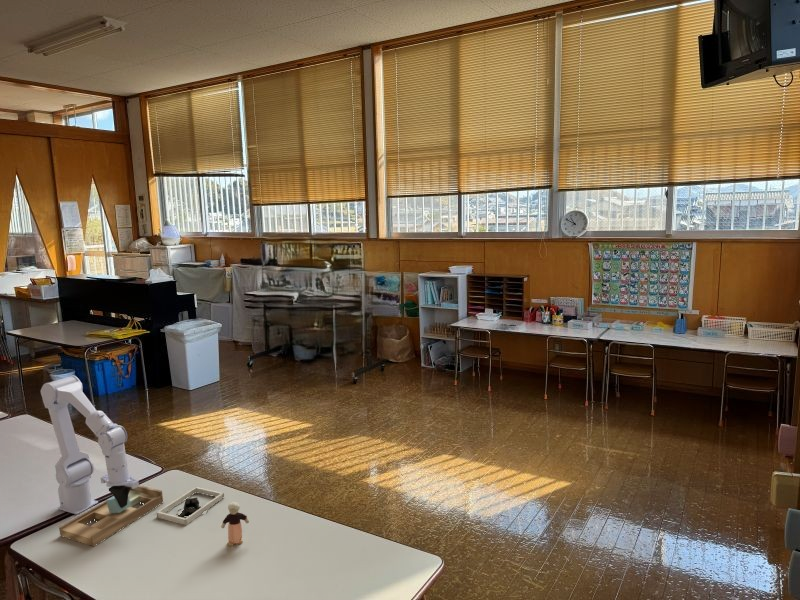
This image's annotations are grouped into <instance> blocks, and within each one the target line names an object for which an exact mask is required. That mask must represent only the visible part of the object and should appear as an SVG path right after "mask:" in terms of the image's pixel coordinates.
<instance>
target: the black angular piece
mask: <svg viewBox="0 0 800 600" xmlns="http://www.w3.org/2000/svg"><path fill="white" fill-rule="evenodd" d="M183 504H184V505H183V509H184V510H183V511H182V513H181V514H180V515H178V517H182V518H183V517H184V516H189V515H191V514H193V513H194V512H196V511H197V510H198V509H200V508H201V506H200V502H199V499H198V497H193V498H192V497H190V498H188V499H186V500H185V501H184V503H183Z"/></svg>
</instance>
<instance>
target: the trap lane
mask: <svg viewBox="0 0 800 600" xmlns="http://www.w3.org/2000/svg"><path fill="white" fill-rule="evenodd" d="M128 497H129V500H130V503H131V506H130V507H128V508H127V509H125V510H123V511H121V512H120V513H112V514H110V512H109V509H108V506H107V503H106V500H105V501H104V502H102V503H100V504H98V505H96V506H95V507H93V508H90V509H89V510H87V511H85V512H84V513H82V514H81V515H80V514H79V516H77V517H75V518H73V519H71V520H70V521H67V522H65V523H64V524H62V525H61V526H59V527H58V530H59V535H61V536H64V537H67V538H70V539H73V540H72V541H74V540H75V541H74V542H77V541H78V543H80V542H82V543H81V544H83V543H85V544H84V545H86V544H88V545H87V546H90V545H92V546H91V547H93V546H94V547H96V546H97V545H96V544H98V543H99V544H101V543H102V542H104V541H105V540H107V539H108V537H109V536H110V537H112V536H113V535H115V534H116V533H115V532H117V531H118V532H120V531H121V530H123V529H124V528H126V527H127V525H128V524H129V525H130V523H131V524H132V523H134V522H135V520H136V519H137V520H139V519H140V518H141V516H142V517H144V516H145V515H147V514H148V513H150V512H151V511H153V510H154V509H156V508H157V507H156V506H158V505H159V504H161V503H162V502H163V503H164V498H163V491H162V490H159V489H156V488H153V487H148V486H144V485H140V484H139V486H138V487H137V488H135V489H132V487H131V488H130V491H129V495H128ZM140 502H141V504H140ZM142 503H144V505H143V504H142ZM163 503H162V504H163ZM162 504H161V505H162ZM159 506H160V505H159ZM159 506H158V507H159ZM155 507H156V508H155ZM153 508H154V509H153ZM152 509H153V510H152ZM150 510H151V511H150ZM149 511H150V512H149ZM147 512H148V513H147ZM146 513H147V514H146ZM144 514H145V515H144ZM139 517H140V518H139ZM138 518H139V519H138ZM94 519H95V521H94ZM137 520H136V521H137ZM90 521H91V523H90ZM96 521H97V522H96ZM133 521H134V522H133ZM87 523H88V524H87ZM129 525H128V526H129ZM125 526H126V527H125ZM123 527H124V528H123ZM122 528H123V529H122ZM120 529H121V530H120ZM119 530H120V531H119ZM118 532H117V533H118ZM114 533H115V534H114ZM112 534H113V535H112ZM111 535H112V536H111ZM61 536H60V537H61ZM64 537H63V538H64ZM110 537H109V538H110ZM67 538H66V539H67ZM106 538H107V539H106ZM70 539H69V540H70ZM104 539H105V540H104ZM103 540H104V541H103ZM101 541H102V542H101ZM100 542H101V543H100ZM99 544H98V545H99ZM95 545H96V546H95Z"/></svg>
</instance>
